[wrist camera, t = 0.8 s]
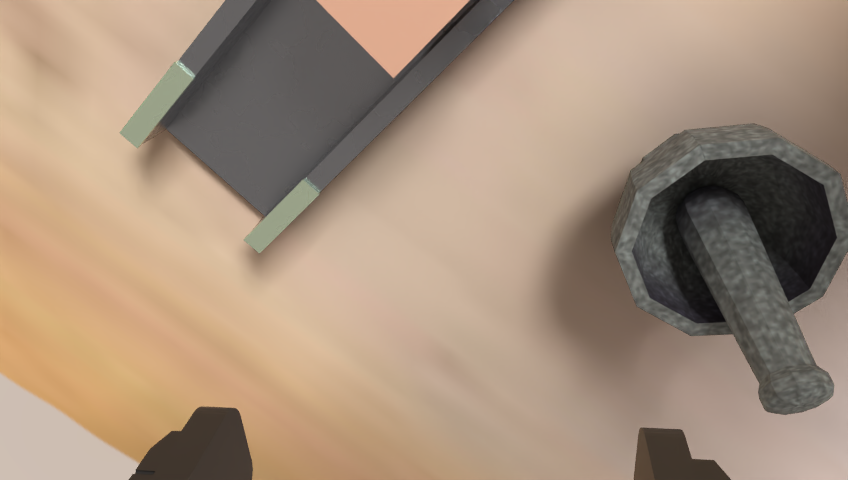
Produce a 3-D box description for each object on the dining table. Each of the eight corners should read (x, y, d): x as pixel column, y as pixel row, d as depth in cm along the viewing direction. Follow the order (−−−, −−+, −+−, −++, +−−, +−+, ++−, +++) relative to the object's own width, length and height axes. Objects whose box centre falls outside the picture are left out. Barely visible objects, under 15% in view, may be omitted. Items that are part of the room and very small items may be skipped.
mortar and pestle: (574, 138, 34) (604, 240, 23) (761, 63, 31) (891, 138, 21) (642, 309, 38) (694, 461, 27) (813, 254, 35) (944, 400, 25)
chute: (510, -331, 26) (510, -370, 22) (652, -146, 28) (673, -156, 25) (157, 111, 36) (119, 132, 33) (282, 222, 38) (259, 253, 35)
